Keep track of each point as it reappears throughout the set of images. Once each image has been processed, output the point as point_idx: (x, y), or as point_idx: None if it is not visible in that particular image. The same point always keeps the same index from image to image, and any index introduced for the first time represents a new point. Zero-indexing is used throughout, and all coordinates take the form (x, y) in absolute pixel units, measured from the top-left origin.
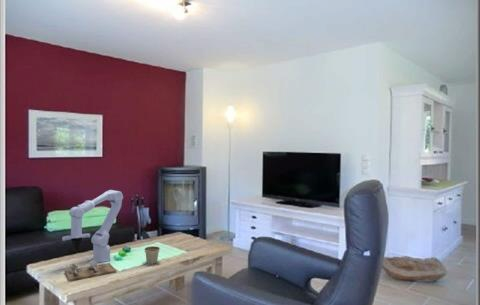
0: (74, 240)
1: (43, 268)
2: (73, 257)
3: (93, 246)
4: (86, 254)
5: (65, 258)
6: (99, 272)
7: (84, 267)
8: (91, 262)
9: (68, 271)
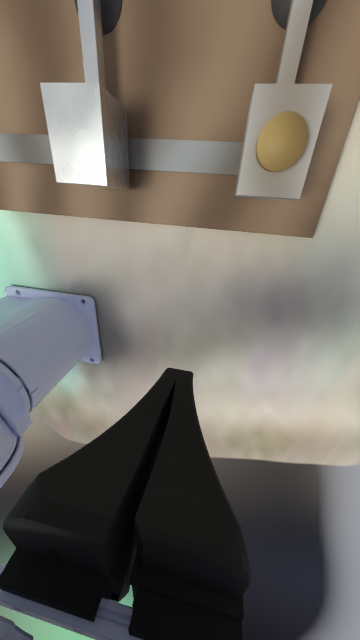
0: (189, 563)
1: (356, 397)
2: None
3: (25, 398)
4: None
5: None
6: None
7: (163, 223)
8: (92, 117)
9: (298, 203)
